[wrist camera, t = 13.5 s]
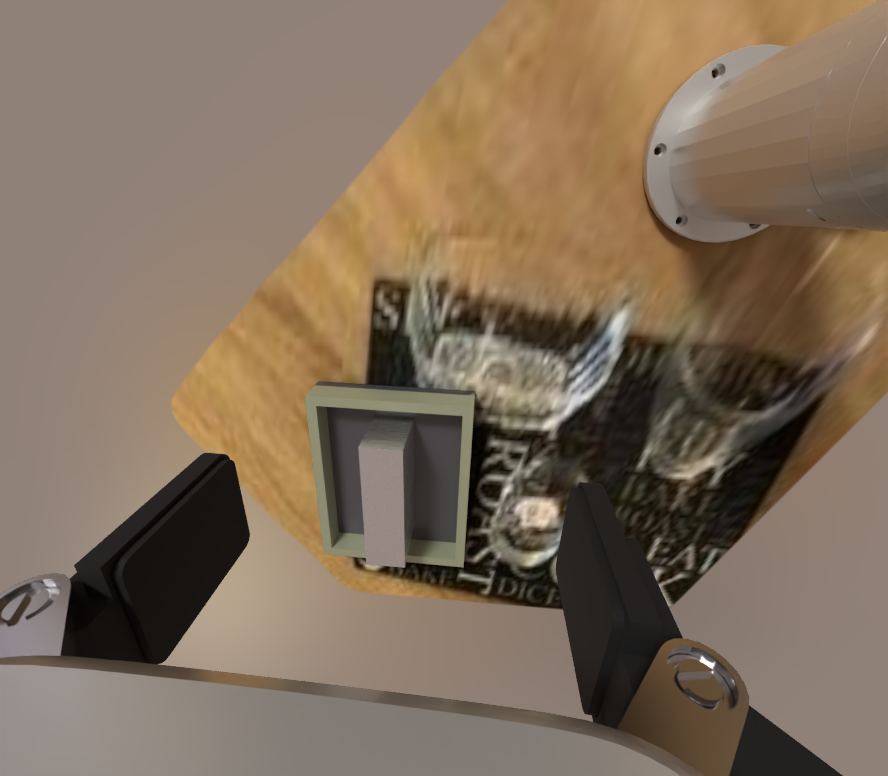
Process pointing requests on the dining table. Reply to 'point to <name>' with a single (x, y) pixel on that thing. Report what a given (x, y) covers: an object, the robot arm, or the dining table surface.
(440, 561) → the case
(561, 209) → the dining table surface
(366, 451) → the bar
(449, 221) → the dining table surface
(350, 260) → the dining table surface
